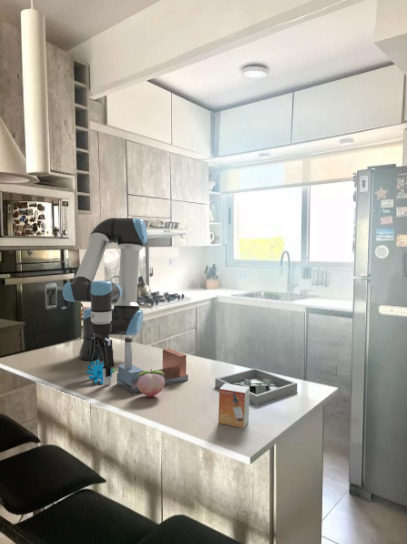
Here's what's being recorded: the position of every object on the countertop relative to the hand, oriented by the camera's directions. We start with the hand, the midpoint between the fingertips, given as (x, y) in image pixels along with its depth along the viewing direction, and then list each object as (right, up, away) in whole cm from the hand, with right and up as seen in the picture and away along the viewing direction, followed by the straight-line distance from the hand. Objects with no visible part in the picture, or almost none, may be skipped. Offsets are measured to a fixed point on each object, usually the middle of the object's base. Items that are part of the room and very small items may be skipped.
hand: (101, 380), depth 149 cm
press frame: (+20, -1, 0) cm, 20 cm away
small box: (+48, -4, -32) cm, 58 cm away
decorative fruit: (+20, -2, -14) cm, 25 cm away
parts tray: (+58, -2, -5) cm, 58 cm away
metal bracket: (+58, -2, -5) cm, 58 cm away
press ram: (+12, +1, -6) cm, 14 cm away
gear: (0, 0, 0) cm, 1 cm away
